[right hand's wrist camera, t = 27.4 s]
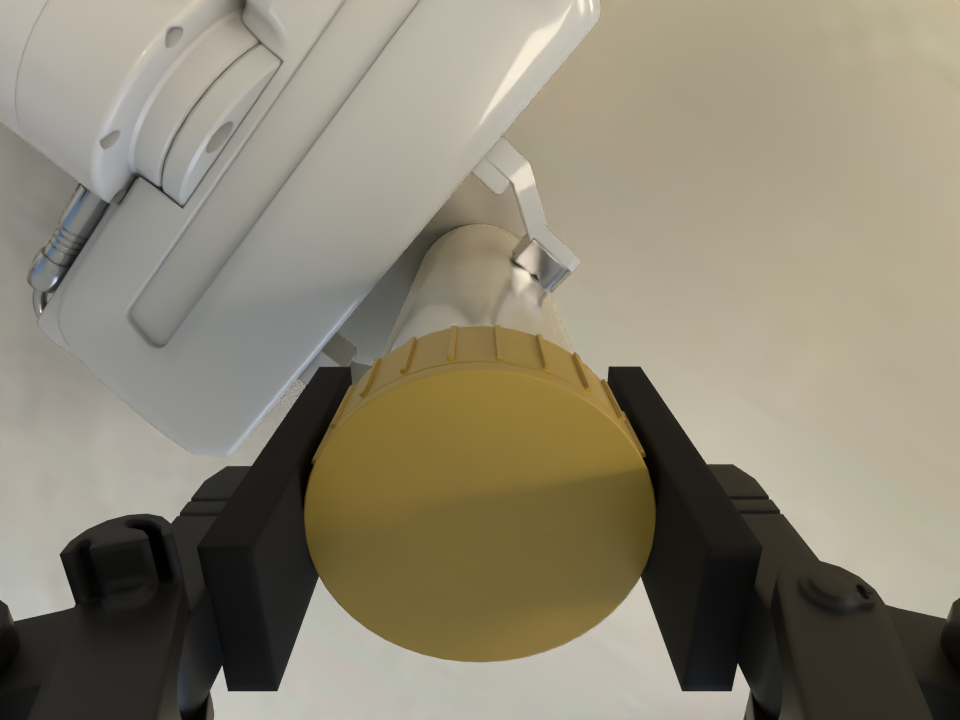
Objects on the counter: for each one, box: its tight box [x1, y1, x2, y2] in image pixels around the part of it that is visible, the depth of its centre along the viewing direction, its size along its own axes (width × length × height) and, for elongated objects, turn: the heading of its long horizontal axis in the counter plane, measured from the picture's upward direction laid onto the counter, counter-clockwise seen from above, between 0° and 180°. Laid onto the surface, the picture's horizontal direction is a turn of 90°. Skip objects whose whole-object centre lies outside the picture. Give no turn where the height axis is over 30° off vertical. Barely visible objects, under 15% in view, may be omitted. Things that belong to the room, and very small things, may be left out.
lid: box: [303, 324, 656, 662], centre depth 11 cm, size 6×6×2 cm
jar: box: [380, 224, 575, 359], centre depth 19 cm, size 6×6×16 cm
